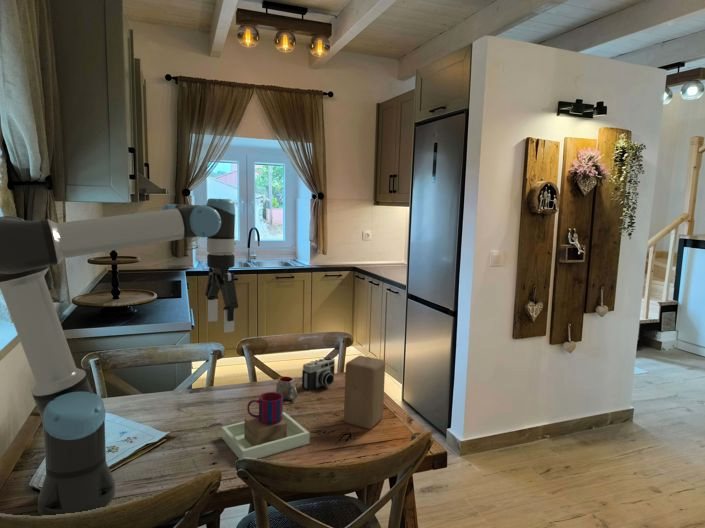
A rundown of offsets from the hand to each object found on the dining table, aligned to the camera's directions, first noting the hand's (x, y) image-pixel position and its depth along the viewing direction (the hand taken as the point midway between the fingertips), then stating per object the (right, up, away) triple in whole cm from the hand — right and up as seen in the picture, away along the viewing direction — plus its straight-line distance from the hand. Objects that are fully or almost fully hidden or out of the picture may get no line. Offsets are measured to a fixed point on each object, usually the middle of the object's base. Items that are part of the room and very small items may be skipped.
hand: (220, 326), depth 136 cm
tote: (+13, -34, -1) cm, 36 cm away
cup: (+13, -27, -1) cm, 30 cm away
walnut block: (+13, -33, -1) cm, 35 cm away
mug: (+15, -30, +31) cm, 46 cm away
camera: (+26, -29, +44) cm, 59 cm away
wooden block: (+42, -33, +16) cm, 55 cm away
